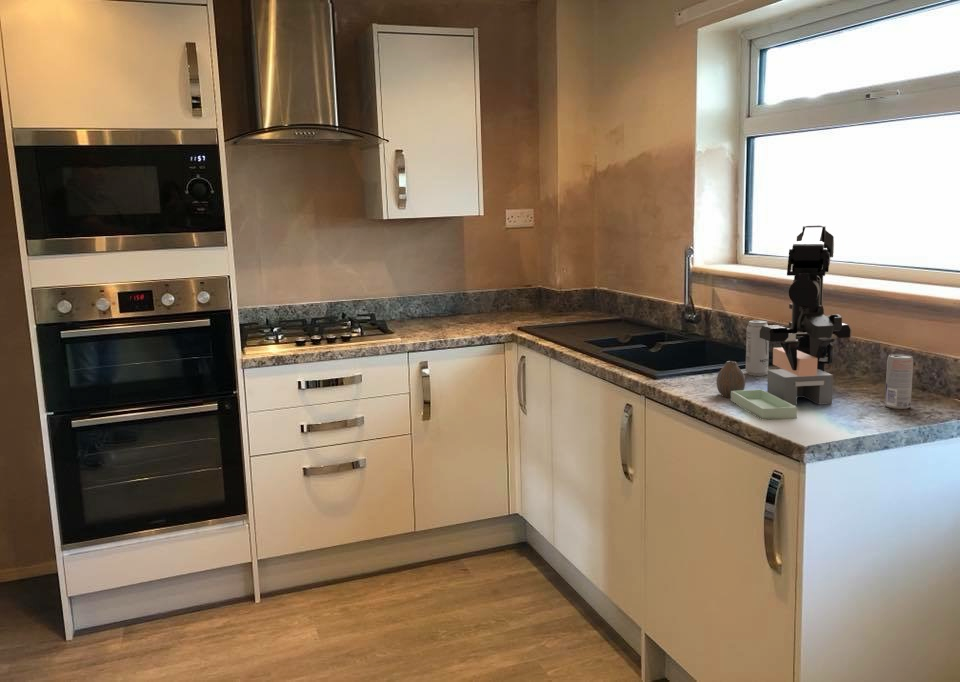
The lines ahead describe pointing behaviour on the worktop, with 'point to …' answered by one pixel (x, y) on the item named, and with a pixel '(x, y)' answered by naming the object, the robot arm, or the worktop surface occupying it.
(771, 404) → the tray
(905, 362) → the energy drink
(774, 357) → the pink square pillar
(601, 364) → the worktop surface
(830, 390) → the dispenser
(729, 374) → the vase
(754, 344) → the energy drink can
